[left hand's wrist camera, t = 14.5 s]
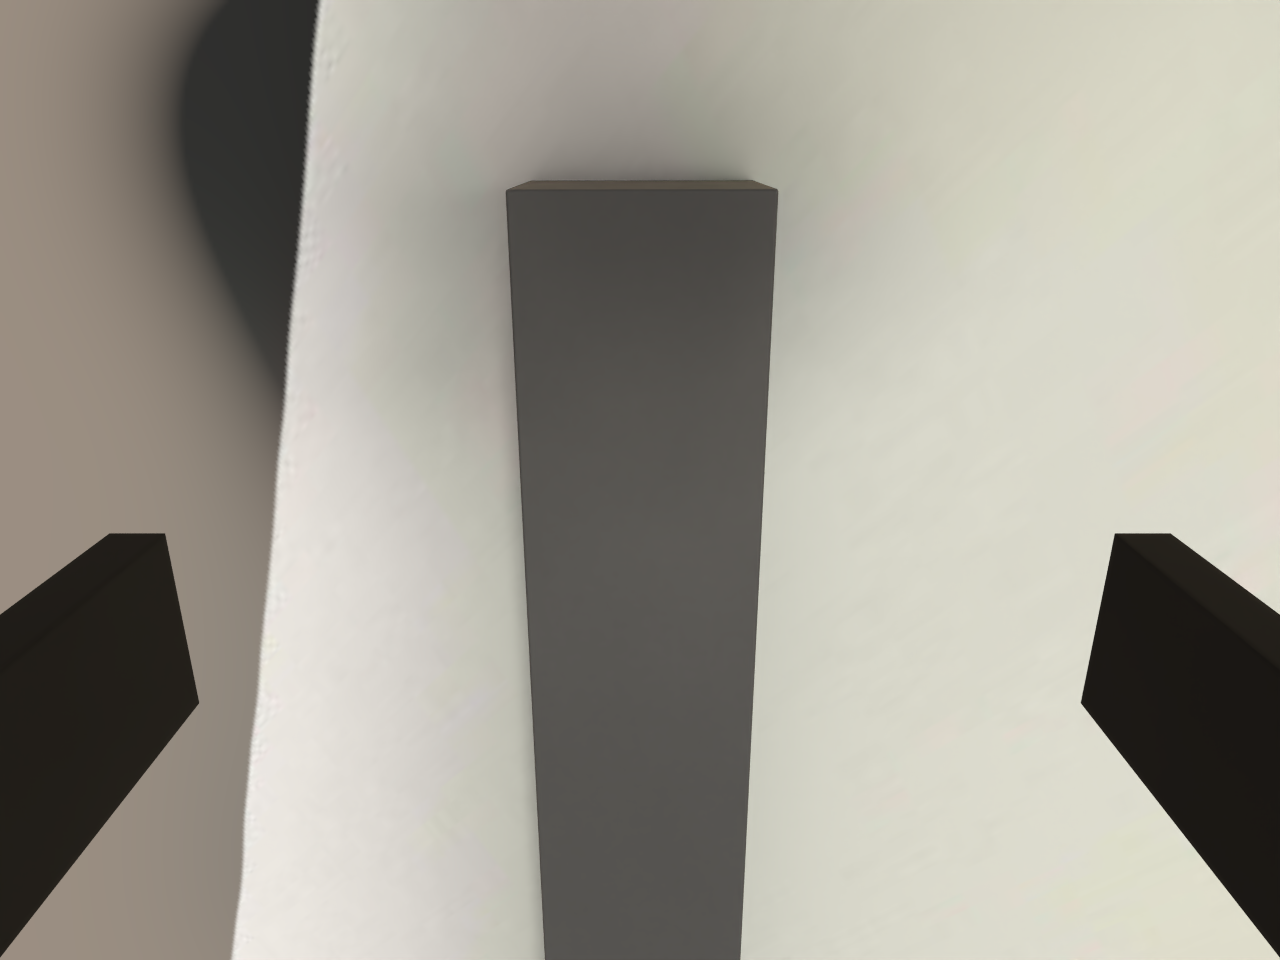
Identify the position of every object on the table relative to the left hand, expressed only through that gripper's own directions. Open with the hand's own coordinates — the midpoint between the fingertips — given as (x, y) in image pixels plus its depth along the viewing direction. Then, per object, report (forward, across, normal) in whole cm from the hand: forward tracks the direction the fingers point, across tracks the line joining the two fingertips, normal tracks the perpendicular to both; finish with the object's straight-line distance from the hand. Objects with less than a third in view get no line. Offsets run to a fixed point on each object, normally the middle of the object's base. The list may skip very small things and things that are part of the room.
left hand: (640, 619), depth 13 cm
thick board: (+30, 0, -30) cm, 42 cm away
